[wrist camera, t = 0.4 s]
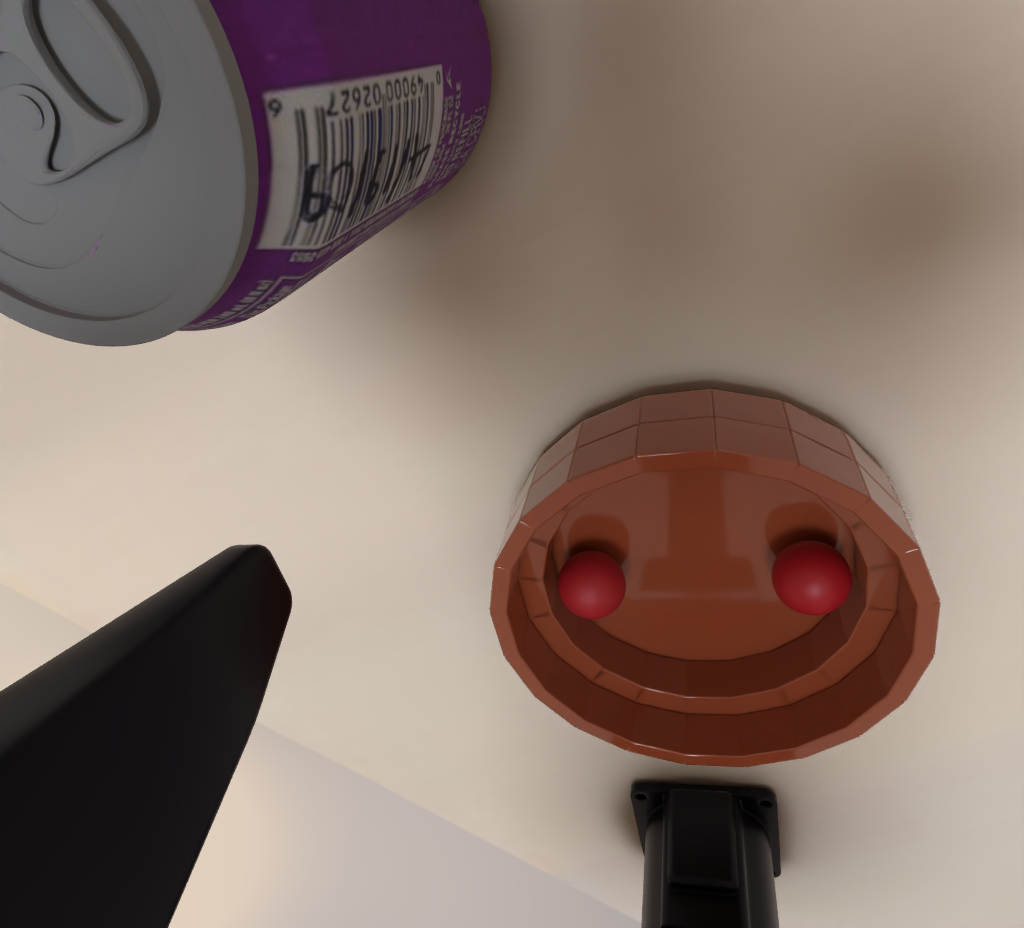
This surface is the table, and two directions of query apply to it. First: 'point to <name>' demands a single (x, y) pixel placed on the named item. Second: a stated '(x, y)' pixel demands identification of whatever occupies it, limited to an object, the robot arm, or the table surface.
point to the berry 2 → (811, 577)
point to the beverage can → (217, 149)
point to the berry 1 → (591, 584)
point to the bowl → (713, 582)
